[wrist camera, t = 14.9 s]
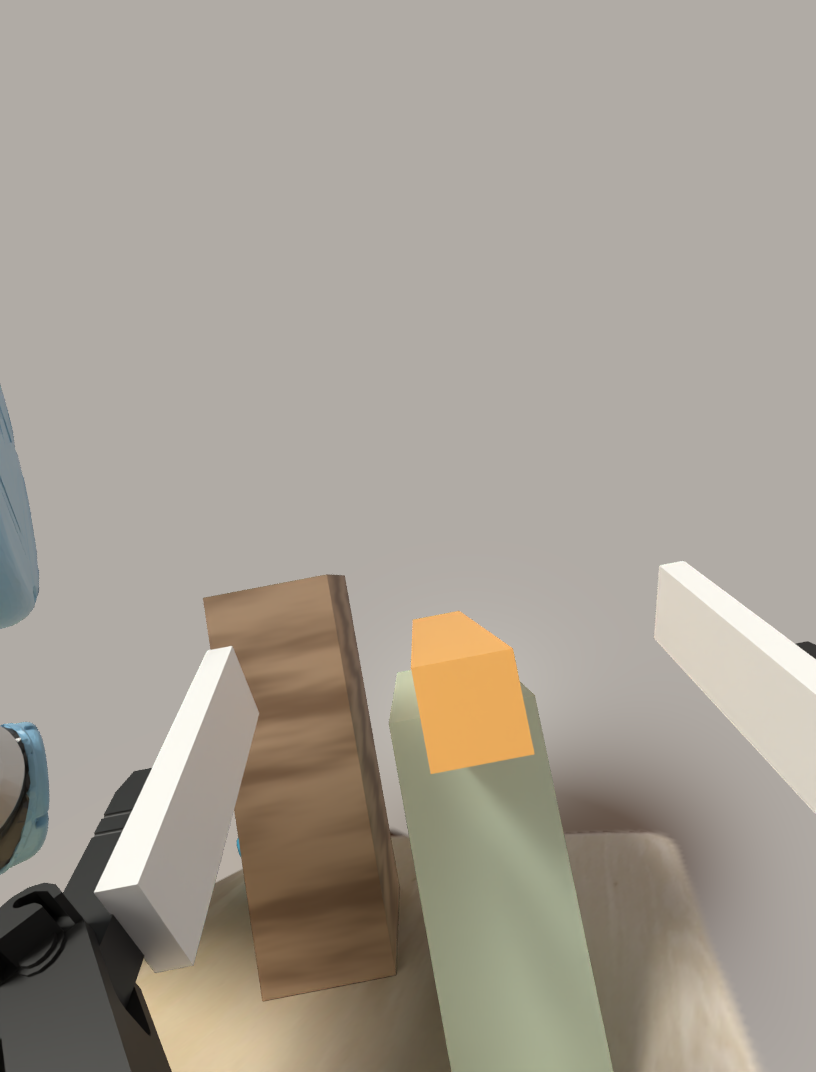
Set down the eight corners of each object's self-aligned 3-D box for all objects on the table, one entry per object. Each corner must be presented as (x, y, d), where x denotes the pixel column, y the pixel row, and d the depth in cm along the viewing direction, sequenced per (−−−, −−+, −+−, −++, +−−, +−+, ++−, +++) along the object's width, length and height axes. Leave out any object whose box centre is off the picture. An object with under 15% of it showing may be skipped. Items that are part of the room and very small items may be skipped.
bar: (534, 754, 18) (513, 648, 18) (430, 774, 18) (410, 668, 18) (468, 658, 40) (459, 610, 40) (421, 667, 40) (412, 619, 40)
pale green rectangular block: (623, 1121, 24) (534, 695, 26) (466, 1152, 24) (388, 723, 25) (545, 920, 38) (491, 654, 39) (446, 939, 37) (397, 672, 39)
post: (395, 975, 35) (326, 574, 38) (262, 1001, 35) (203, 598, 38) (399, 887, 45) (344, 575, 48) (295, 907, 45) (246, 594, 48)
